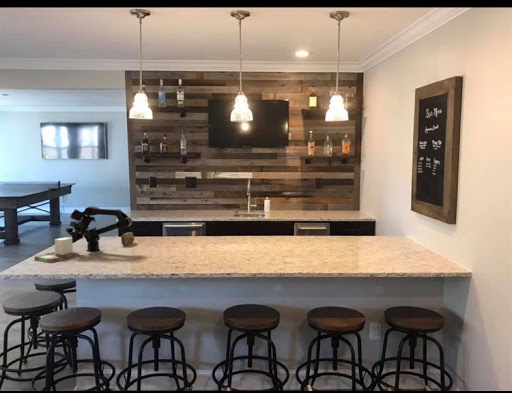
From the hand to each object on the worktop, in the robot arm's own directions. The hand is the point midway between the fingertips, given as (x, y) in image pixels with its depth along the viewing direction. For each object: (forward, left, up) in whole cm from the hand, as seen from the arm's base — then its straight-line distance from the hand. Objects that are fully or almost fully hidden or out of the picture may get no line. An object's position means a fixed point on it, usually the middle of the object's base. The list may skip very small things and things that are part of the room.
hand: (71, 243), depth 278 cm
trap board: (+2, +11, -7) cm, 13 cm away
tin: (-16, -39, -7) cm, 43 cm away
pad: (+3, +18, -7) cm, 19 cm away
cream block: (+1, +6, -5) cm, 8 cm away
